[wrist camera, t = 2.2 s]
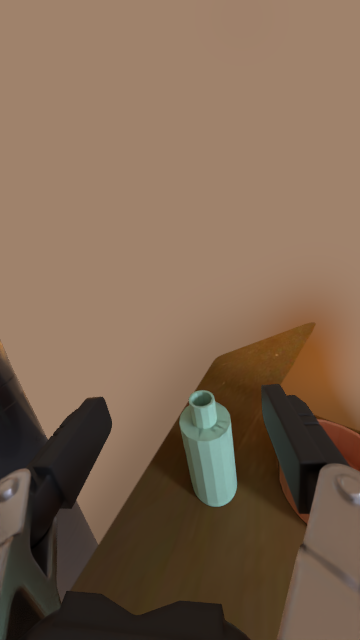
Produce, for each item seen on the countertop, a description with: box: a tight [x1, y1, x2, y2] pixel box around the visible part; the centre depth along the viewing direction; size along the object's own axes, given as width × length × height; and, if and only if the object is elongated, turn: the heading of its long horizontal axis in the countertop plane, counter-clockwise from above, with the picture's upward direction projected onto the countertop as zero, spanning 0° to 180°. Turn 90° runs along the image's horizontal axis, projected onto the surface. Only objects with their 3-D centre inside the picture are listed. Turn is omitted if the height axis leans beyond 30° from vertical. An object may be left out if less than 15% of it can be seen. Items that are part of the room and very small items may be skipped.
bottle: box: [179, 390, 237, 507], centre depth 25 cm, size 6×6×14 cm
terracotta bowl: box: [278, 419, 360, 525], centre depth 23 cm, size 11×11×6 cm
